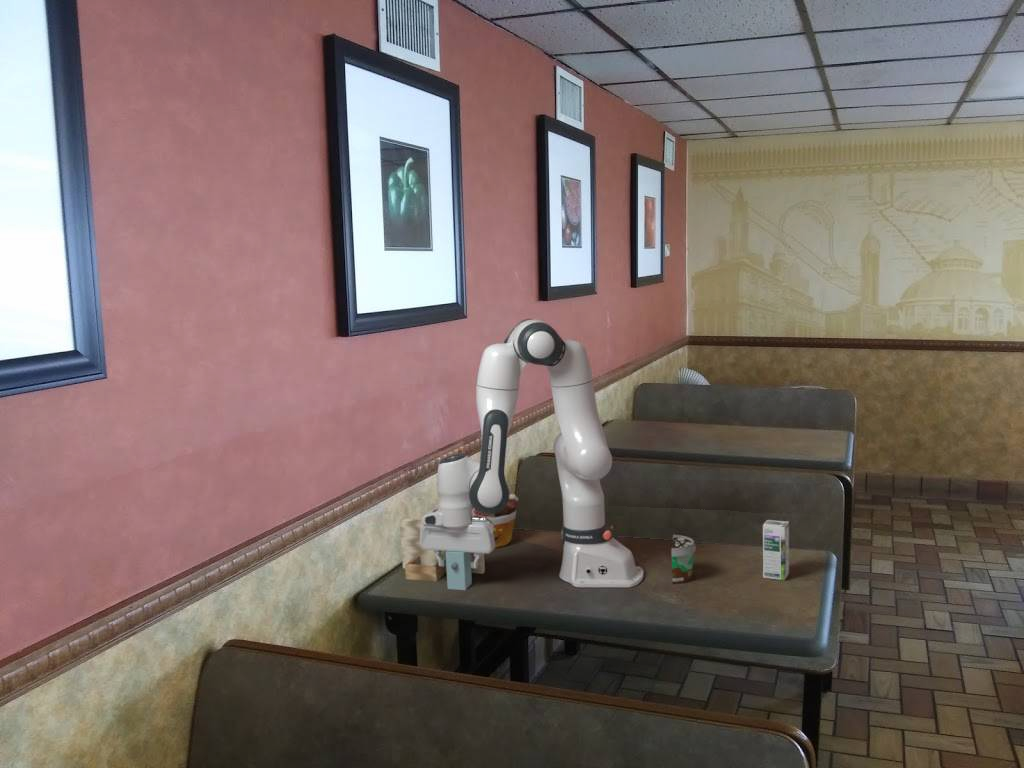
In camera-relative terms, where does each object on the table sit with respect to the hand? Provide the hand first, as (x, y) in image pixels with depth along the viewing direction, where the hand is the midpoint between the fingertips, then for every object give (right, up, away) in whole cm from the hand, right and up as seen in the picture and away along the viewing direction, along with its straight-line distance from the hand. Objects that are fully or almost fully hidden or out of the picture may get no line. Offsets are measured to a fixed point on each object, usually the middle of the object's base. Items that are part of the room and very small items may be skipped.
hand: (458, 566), depth 247 cm
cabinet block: (0, -5, +1) cm, 5 cm away
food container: (+60, -3, -1) cm, 60 cm away
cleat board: (-6, -4, +10) cm, 12 cm away
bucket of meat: (+7, 0, +36) cm, 37 cm away
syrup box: (+83, -2, -2) cm, 83 cm away
